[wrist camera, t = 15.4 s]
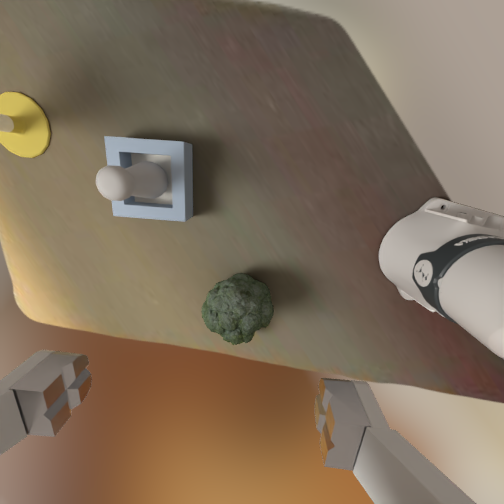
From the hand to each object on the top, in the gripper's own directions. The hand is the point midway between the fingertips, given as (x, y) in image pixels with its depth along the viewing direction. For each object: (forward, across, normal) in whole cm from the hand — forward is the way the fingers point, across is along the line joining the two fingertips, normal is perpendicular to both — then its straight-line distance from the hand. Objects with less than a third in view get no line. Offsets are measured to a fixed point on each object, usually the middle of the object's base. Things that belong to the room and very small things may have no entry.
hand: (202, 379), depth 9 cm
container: (+37, +17, -4) cm, 41 cm away
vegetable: (+37, +1, +18) cm, 41 cm away
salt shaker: (+36, +17, -4) cm, 40 cm away
